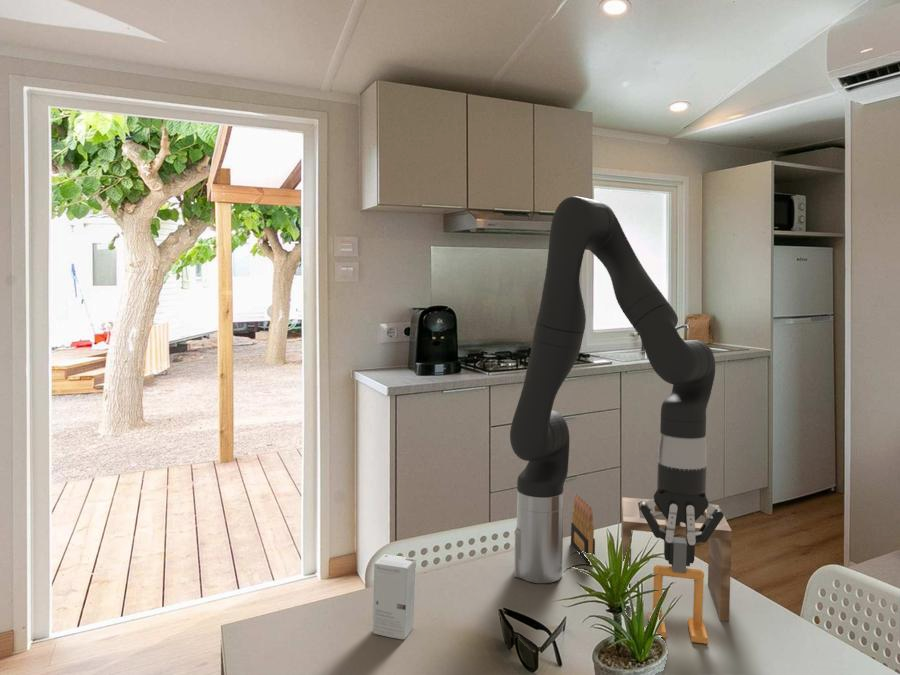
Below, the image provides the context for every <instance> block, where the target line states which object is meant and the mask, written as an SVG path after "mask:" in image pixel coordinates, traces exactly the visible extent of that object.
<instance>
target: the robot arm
mask: <svg viewBox="0 0 900 675" xmlns="http://www.w3.org/2000/svg"><path fill="white" fill-rule="evenodd" d="M548 240H549V241H548V242H549V243H548V252H547V259H546V260H547V263H546V269H545V270H546V271H545V275H544V276H545V277H544V283H543V289H542V293H541V298H540V299H541V300H540V303H539V304H540V305H539V308H538V313H537V316H536V318H537V319H536V322H535V327H534V330H533V332H534V333H533V337H532V344H531V349H530V355H529V359H528V363H527V367H526V372H525V377H524V382H523V384H522V390H521V391H520V392H521V393H520V395H519V396H520V397H519V399H518V403H517V405H516V408H515V411H514V414H513V418H512V421H511V425H510V429H509V430H510V431H509V439H510V446H511V449H512V451H513V452H514V455H516V457H518V458H519V459H521V460H523V461H526V462H528V463H527V464H526V466H525V467H524V469H523V470H521V472H520V473H519V475H518V476H517V480H516V481H517V482H516V489H517V490H516V493H517V494H516V527H515V530H514V577H515V578H520V579H522V580H523V581H526V582H530V583H532V584H533V583H536V584H550V583H554V582H557V581H559V580H560V579H561V578H562V577H563V548H564V547H563V543H564V542H563V541H564V540H563V539H564V538H563V536H564V526H563V525H564V487H565V486H564V485H565V482H566V480H567V476H568V474H569V472H568V471H569V459H570V458H569V457H570V431H569V425H568V423H567V421H566V419H565V417H564V416H562V414H561V413H559V412H558V411H555V410H554V409H553V407H554V403H555V399H556V397H557V394H558V393H559V390H560V388H561V387H562V385H563V383H564V382H565V380H566V378H567V376H568V375H569V374H570V372H571V370H572V369H573V367H574V365H575V364H576V361H577V360H578V357H579V354H580V350H581V347H582V343H583V338H584V334H585V329H586V323H587V322H586V321H587V320H586V319H587V317H586V309H585V305H584V299H583V294H582V291H581V285H580V284H581V282H580V276H581V268H582V263H583V258H584V255H585V250H587V251H590V252H591V253H592V254H593V255H594V256H595V257H596V258H597V259H598V260H599V261H600V262H601V263H602V264H603V266H604V268H605V269H606V271H607V273H608V275H609V277H610V280H611V284H612V288H613V292H614V297H615V298H616V302H617V303H618V305H619V307H620V310H621V311H622V313H623V314H624V315H625V318H626V319H627V320H628V321H629V323H630V324H631V326H632V328H633V329H635V331H636V333H637V334H638V335H639V337H640V340H641V344H642V346H643V349H644V352H645V354H646V356H647V359H648V362H649V364H650V365H651V367H652V369H653V371H654V372H655V373H656V375H657V376H658V377H659V378H660V379H662V380H663V381H664V382H665V383H668V384H670V385H672V388H671V394H670V395H669V396H668V397H666V398H665V399H664V400H663V402H662V404H661V406H660V407H661V408H660V425H659V426H660V428H659V429H660V430H659V439H658V448H657V452H656V453H657V454H656V455H657V478H656V479H657V481H656V482H657V484H656V485H657V486H656V491H655V493H654V495H653V497H652V498H651V499H650V500H648V501H641V502H640V510H639V511H640V512H641V513H642V515H643V518H645V519H646V521H647V523H648V525H649V526H650V528H651V530H652V532H651V533H652V534H653V535H654V537H655V538H657V539H662V540H663V542H664V543H663V555H664V556H663V557H664V559H665V561H668V565H671V566H672V565H673V550H674V543H673V537H675V536H674V535H675V534H674V530H675V523H677V522H682V523H685V526H686V535H685V540H686V543H687V551H686V567H691V564H693V563H694V561H695V550H696V545H697V544H698V543H703V544H704V543H707V542H708V541H709V537H710V536H711V534H712V533H713V531H714V530H715V529H716V527H717V526H718V524H719V523H720V521H721V520H722V518H723V516H724V517H725V515H724V513H723V511H722V509H721V508H719V507H720V506H719V507H714V506H713V505H714V504H712V505H711V503H709V499H708V498H707V494H706V493H707V492H706V491H707V489H706V486H707V462H708V461H707V458H708V457H707V456H708V453H707V452H708V450H707V449H708V448H707V441H706V440H707V439H706V438H707V437H706V436H707V433H706V432H707V408H708V405H709V402H710V397H711V394H712V389H713V385H714V381H715V375H716V359H715V356H714V353H713V350H712V348H710V346H709V345H708V344H707V343H705V342H703V341H701V340H697V339H687V340H684V339H683V338H682V337H681V335H680V333H679V332H678V329H677V328H676V326H677V325H678V322H679V317H678V315H677V312H676V311H675V310H674V308H673V307H672V305H671V304H670V302H669V301H668V300H667V299H666V298H665V295H664V294H663V293H662V292H661V290H660V289H659V288H658V287H657V285H656V284H655V283H654V280H652V278H651V276H649V274H648V272H647V271H646V270H645V268H644V267H643V265H642V263H641V262H640V260H639V258H638V256H637V254H636V253H635V251H634V249H633V247H632V245H631V244H630V242H629V240H628V237H627V235H626V234H625V232H624V229H623V228H622V226H621V224H620V221H619V219H618V217H617V216H616V214H615V212H614V211H613V210H612V208H611V207H610V206H609V205H608V204H606V203H604V202H603V201H599V200H597V199H591V198H587V197H582V196H581V197H580V196H576V195H575V196H573V195H572V196H569V197H566V198H564V199H563V200H562V201H561V202H560V203H558V206H557V207H556V209H555V211H554V214H553V216H552V219H551V225H550V231H549V239H548ZM655 505H657V506H658V508H659V509H660V511H661V512H660V513H661V514H662V515H663V516H664V518H665V519H664V520H665V530H664V529H661V528H660V526H659V525H658V523H657V521H656V519H657V518H656V517H655V516H654V514H655V512H656V511H655V508H654V507H655ZM706 509H707V513H706V515H707V517H708V518H707V519H706V520H705V521H704V522H703V523H702V524H703V525H702V527H701V528H700V530H699V531H698V532H695V523H696V521H697V520H698V519H699V518H700V516H702V515H701V514H702V513H703V512H704V511H705V510H706Z"/></svg>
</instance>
